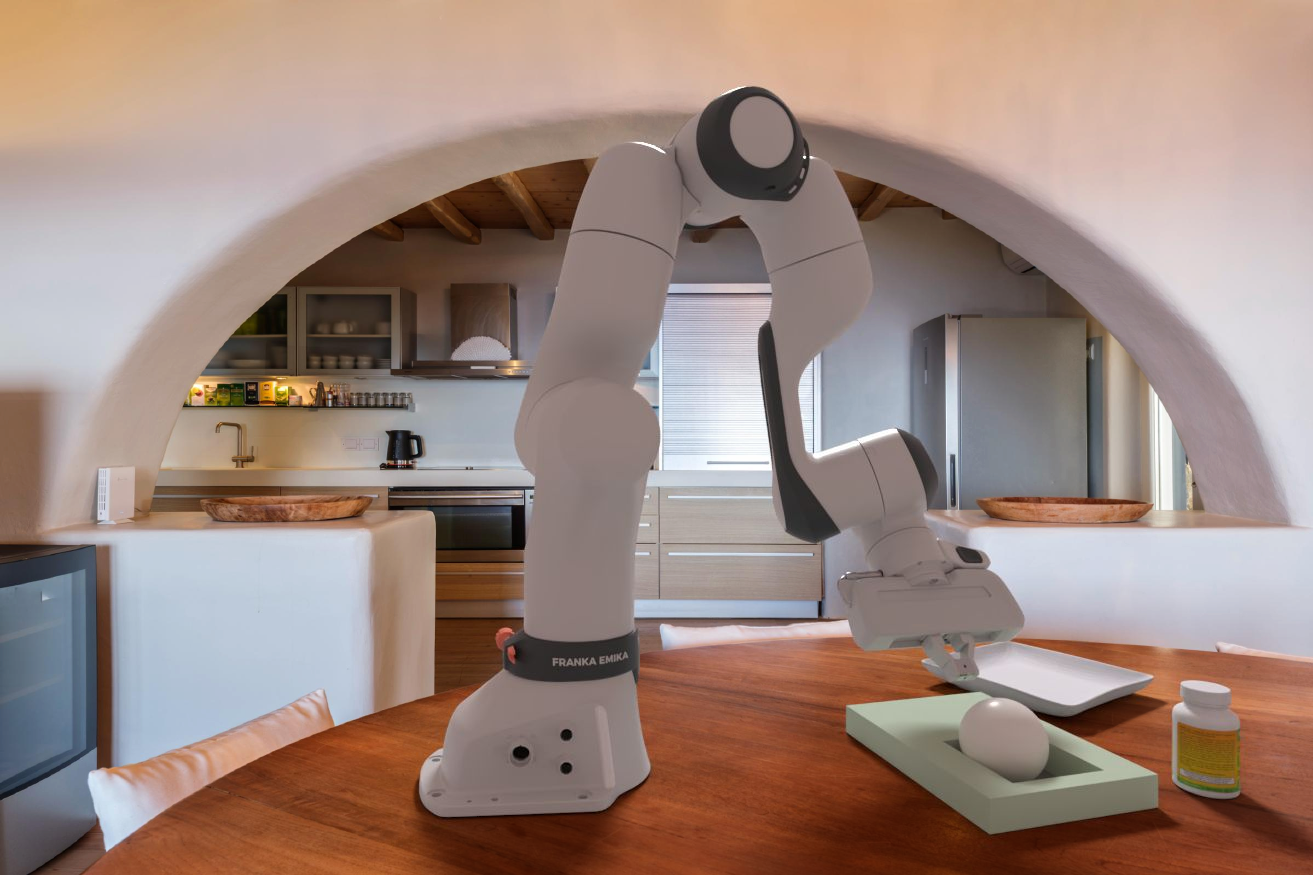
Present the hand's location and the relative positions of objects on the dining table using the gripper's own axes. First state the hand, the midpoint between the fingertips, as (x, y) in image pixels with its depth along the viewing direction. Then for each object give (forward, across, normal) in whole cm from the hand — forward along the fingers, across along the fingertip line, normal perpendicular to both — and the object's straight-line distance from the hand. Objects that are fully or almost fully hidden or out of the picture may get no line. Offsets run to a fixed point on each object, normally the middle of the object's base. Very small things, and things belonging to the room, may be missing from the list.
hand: (965, 678), depth 83 cm
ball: (+8, -1, -2) cm, 8 cm away
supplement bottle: (+15, +17, -3) cm, 23 cm away
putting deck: (+8, 0, +4) cm, 9 cm away
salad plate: (-6, +23, +18) cm, 30 cm away
